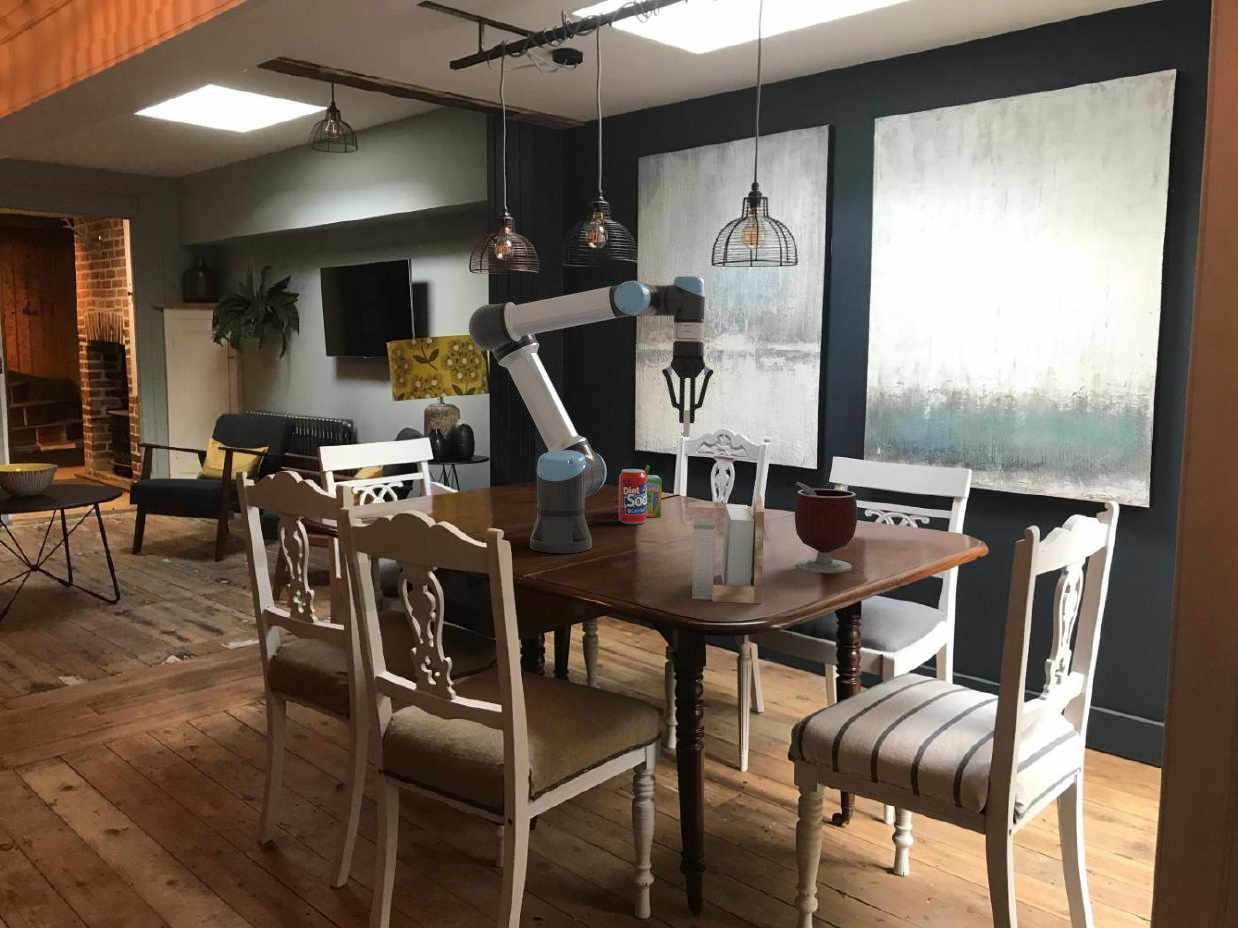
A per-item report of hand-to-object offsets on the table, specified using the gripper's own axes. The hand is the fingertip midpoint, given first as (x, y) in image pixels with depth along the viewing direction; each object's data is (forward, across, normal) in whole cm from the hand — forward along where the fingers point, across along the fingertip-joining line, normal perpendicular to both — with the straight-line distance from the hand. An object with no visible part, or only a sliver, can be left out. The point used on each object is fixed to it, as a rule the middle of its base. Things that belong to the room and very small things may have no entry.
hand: (686, 436), depth 247 cm
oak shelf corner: (+27, +12, -44) cm, 53 cm away
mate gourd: (+28, +32, -20) cm, 47 cm away
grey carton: (+27, +6, -50) cm, 57 cm away
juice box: (+28, -14, +44) cm, 54 cm away
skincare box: (+28, +13, -41) cm, 51 cm away
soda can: (+28, -16, +30) cm, 44 cm away
